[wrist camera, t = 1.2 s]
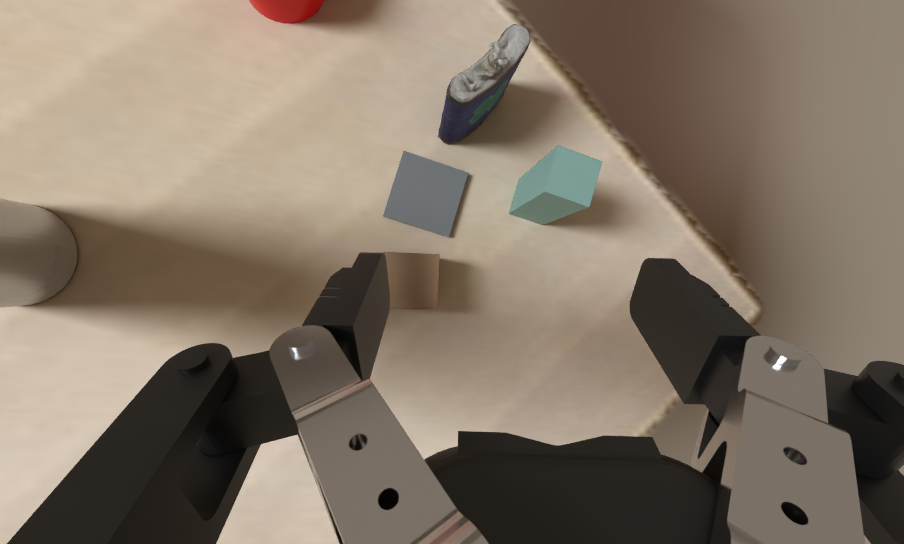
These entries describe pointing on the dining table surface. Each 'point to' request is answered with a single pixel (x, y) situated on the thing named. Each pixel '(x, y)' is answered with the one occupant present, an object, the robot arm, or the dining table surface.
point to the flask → (482, 85)
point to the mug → (287, 9)
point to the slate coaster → (425, 194)
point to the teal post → (556, 186)
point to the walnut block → (413, 280)
